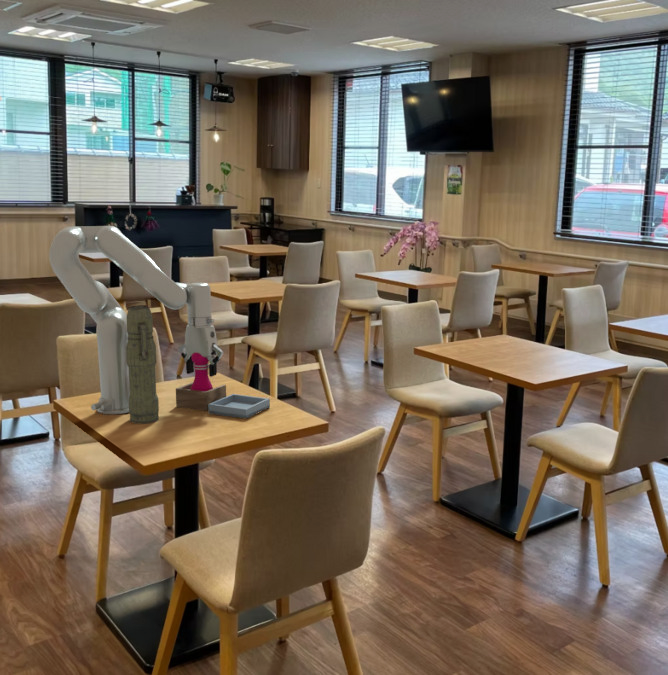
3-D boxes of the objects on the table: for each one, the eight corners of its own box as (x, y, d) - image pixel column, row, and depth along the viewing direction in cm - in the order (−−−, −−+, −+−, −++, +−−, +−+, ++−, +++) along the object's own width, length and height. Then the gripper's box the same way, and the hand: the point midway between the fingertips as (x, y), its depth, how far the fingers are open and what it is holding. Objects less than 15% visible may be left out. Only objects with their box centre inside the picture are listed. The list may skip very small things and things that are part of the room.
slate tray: (246, 418, 247) (246, 409, 246) (208, 413, 253) (208, 404, 252) (269, 407, 259) (269, 398, 259) (233, 402, 265) (232, 393, 265)
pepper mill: (186, 405, 261) (184, 345, 258) (198, 400, 268) (196, 341, 264) (206, 408, 259) (204, 347, 255) (217, 402, 265) (215, 343, 261)
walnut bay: (207, 411, 255) (206, 392, 254) (176, 406, 261) (175, 388, 260) (226, 402, 265) (225, 385, 264) (196, 398, 270) (195, 381, 269)
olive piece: (152, 412, 254) (147, 302, 247) (164, 422, 244) (159, 307, 237) (124, 416, 249) (118, 305, 243) (135, 426, 239) (130, 310, 233)
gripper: (228, 321, 258) (230, 374, 261) (184, 317, 265) (186, 369, 269) (215, 325, 251) (217, 379, 254) (170, 321, 259) (172, 374, 262)
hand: (201, 374), depth 261 cm, fingers open, 8 cm apart
